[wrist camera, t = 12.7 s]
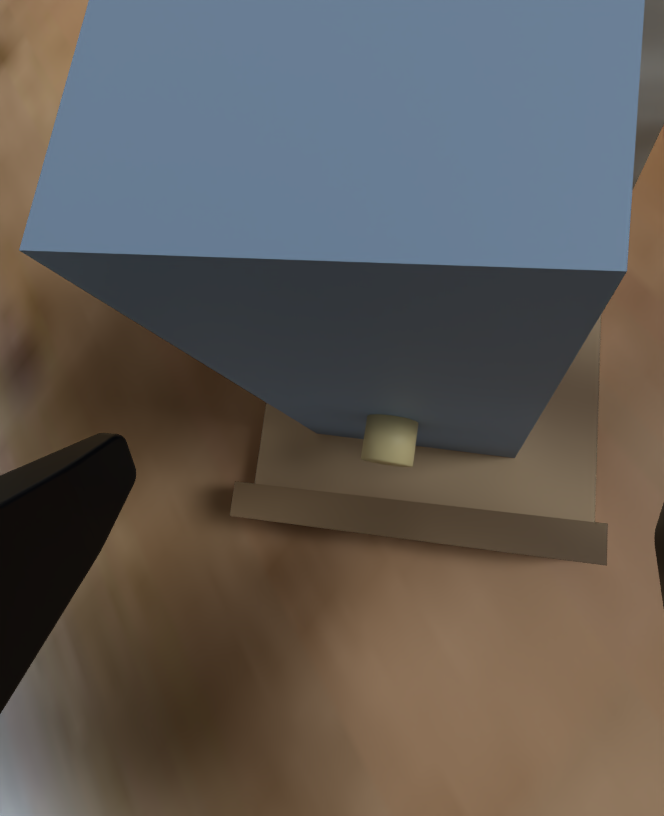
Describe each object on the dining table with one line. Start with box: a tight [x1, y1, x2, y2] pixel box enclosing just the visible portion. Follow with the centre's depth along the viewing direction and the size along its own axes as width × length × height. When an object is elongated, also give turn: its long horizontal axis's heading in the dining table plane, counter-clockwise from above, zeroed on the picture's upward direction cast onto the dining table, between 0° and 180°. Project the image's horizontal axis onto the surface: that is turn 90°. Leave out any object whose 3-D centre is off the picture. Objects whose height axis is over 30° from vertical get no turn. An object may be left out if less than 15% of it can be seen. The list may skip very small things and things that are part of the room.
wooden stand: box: [230, 0, 664, 566], centre depth 13 cm, size 10×10×10 cm
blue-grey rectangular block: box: [19, 0, 645, 467], centre depth 11 cm, size 7×6×12 cm
